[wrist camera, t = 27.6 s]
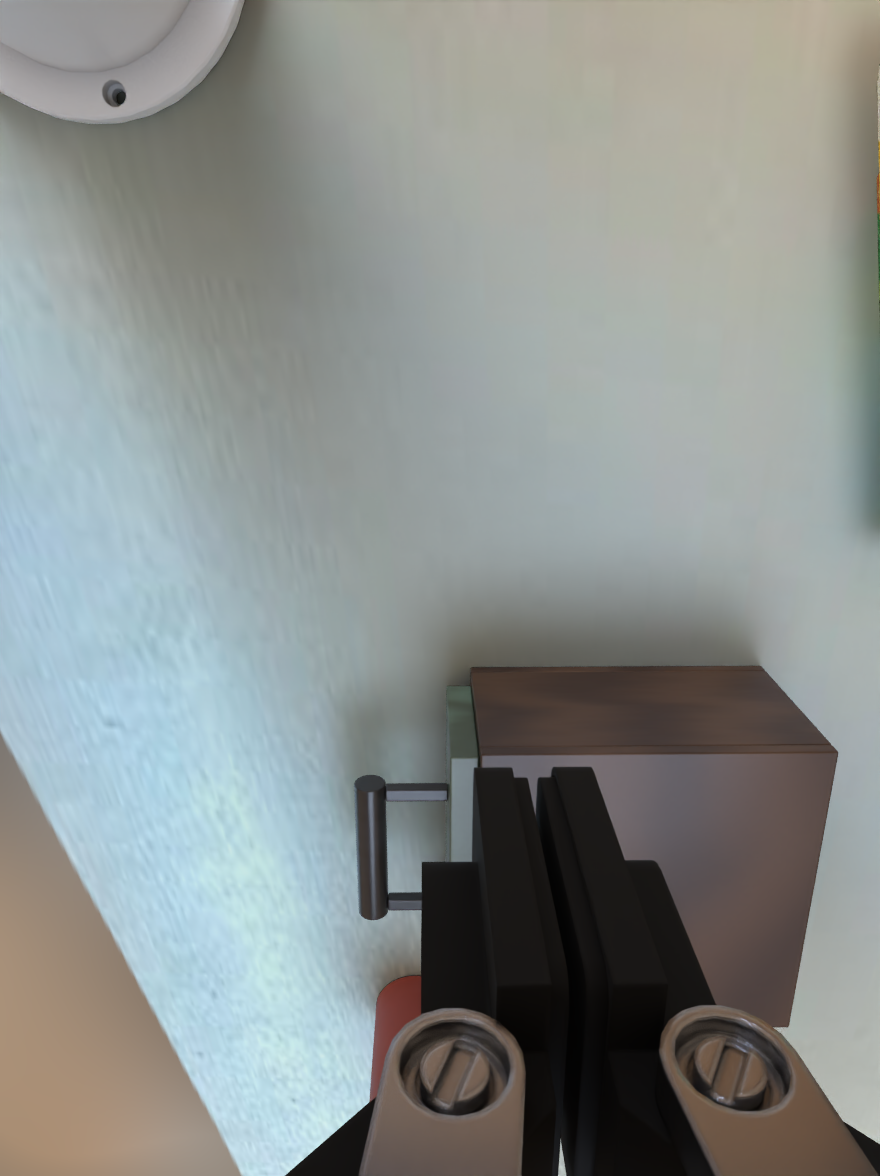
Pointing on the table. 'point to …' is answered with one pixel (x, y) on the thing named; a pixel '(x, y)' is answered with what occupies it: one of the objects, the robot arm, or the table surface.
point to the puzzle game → (878, 178)
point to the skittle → (393, 1020)
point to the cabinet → (688, 797)
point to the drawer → (455, 793)
